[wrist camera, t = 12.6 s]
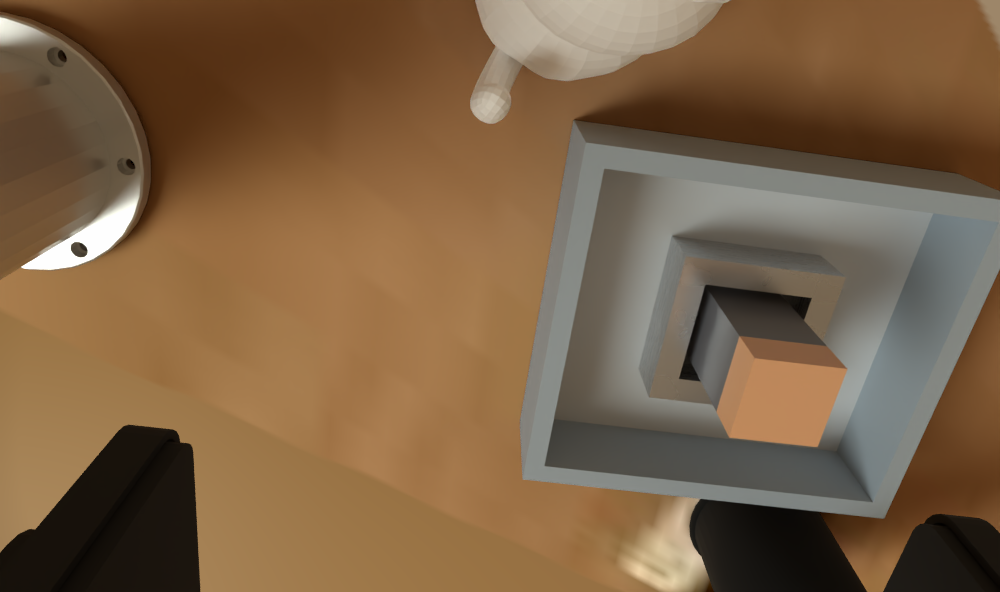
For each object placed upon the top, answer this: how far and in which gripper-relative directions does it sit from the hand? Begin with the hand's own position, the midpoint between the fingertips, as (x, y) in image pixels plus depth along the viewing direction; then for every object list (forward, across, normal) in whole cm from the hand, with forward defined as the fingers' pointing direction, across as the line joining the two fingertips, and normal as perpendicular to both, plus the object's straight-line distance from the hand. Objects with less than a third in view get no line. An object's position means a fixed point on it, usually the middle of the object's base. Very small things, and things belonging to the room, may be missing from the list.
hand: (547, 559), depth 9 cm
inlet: (+28, -13, +8) cm, 31 cm away
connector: (+28, -13, +8) cm, 31 cm away
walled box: (+28, -13, +8) cm, 32 cm away
